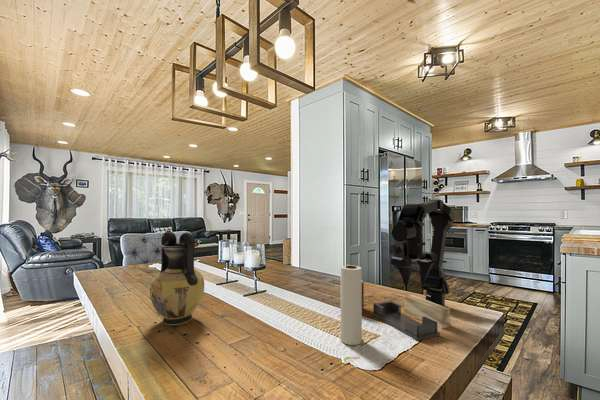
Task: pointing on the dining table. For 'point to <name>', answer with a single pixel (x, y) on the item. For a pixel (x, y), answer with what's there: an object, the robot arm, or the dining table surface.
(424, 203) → the robot arm
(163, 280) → the amphora
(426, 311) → the beige rectangular block
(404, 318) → the bracket
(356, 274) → the paper towel roll
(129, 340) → the dining table surface
